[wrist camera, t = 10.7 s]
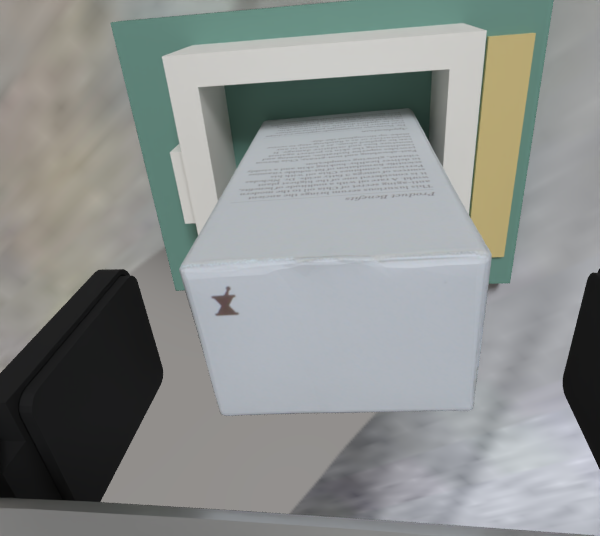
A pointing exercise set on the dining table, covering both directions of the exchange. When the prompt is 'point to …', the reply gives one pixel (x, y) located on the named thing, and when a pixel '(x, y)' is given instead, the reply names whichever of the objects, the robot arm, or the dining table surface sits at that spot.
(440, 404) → the skincare box
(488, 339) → the dining table surface
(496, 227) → the board
